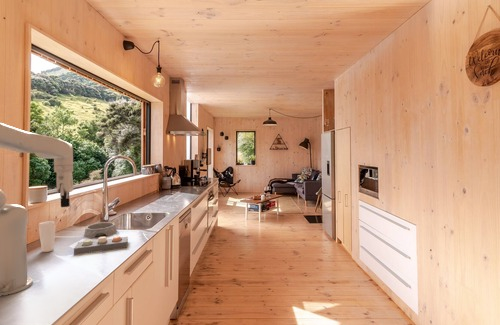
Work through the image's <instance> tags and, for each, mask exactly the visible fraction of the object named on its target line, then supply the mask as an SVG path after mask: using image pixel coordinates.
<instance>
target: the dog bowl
mask: <svg viewBox="0 0 500 325" xmlns="http://www.w3.org/2000/svg"><path fill="white" fill-rule="evenodd" d="M84 230H85V231H84V234H83V237H84V238H88V239H91V238H92V239H93V238H95V237H101V236H105V235H106V237H108V236H111V235H114V234H116V233H117V232H118V230H117V226H116V224H115V223H114V222H111V221H110V222H108V221H106V222H96V223H92V224H89V225H87V226H86V227H85V229H84Z"/></svg>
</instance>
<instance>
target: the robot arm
mask: <svg viewBox="0 0 500 325" xmlns="http://www.w3.org/2000/svg"><path fill="white" fill-rule="evenodd" d="M73 147H74V146H73V145H72V143H69V142H67V141H66V140H63V139H60V138H57V137H53V136H48V135H44V134H43V135H42V134H39V133H34V132H29V131H25V130H22V129H19V128H16V127H13V126H12V125H11V126H10V125H7V124H5V123H2V122H0V148H1V149H5V150H10V151H13V152H17V153H26V154H34V155H35V156H37V157H38V158H40V159H45V160H46V159H52V160H53V170H54V173H56V192H57V193H58V194H60V195H59V196H60V208H68V207H70V205H71V204H70V193H71V192H73V191H74V187H75V186H74V177H73V172H74V151H73V150H74V149H73ZM7 198H8V197H7V196H6V194H5V192H4V191H3V189H1V188H0V295H4V296H7V295H8V294H9V295H12V294H15V293H18V292H21V291H24V290H26V289H28V288H30V286H32V284H34V279H33V278H32V277H30V276H29V277H28V275H29V274H28V253H27V252H28V251H27V226H28V223H29V222H28V221H29V211H28V209H27V208H26V207H24V206H22V205H20V204H13V203H10V204H9V203H8V204H7V201H8V200H7Z"/></svg>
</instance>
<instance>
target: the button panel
mask: <svg viewBox="0 0 500 325" xmlns="http://www.w3.org/2000/svg"><path fill="white" fill-rule="evenodd" d="M120 237H121V236H120ZM113 238H114V237H111V238H107V243H102V244H98V239H97V240H92V245H86V246H83V241H80V242H77V243H76V245H75V246H74V248H73V254H74V255H80V254H81V253H82V254H87V253H88V254H89V253H96V252H103V251H110V250H118V249H126V248H127V247H128V242H129V240H128V239H129V237H128V236H122V237H121V241H118V242H113ZM82 254H81V255H82Z"/></svg>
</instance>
